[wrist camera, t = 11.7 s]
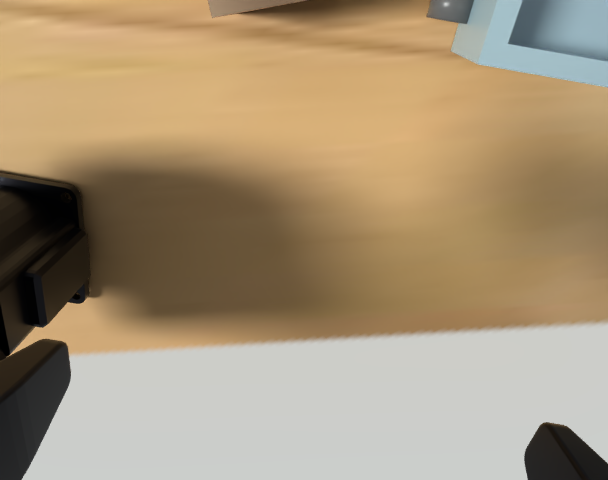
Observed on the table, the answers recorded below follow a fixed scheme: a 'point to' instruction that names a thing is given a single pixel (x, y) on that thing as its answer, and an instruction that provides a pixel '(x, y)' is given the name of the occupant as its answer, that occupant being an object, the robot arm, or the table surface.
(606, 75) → the cart
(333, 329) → the table surface
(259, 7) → the walnut block
